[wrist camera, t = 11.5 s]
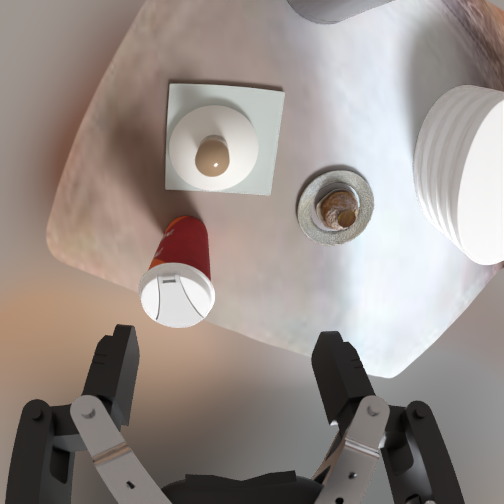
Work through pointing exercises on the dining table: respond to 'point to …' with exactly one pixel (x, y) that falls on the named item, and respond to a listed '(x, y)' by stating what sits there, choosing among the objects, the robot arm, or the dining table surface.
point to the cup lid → (213, 147)
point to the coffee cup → (179, 276)
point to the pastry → (336, 208)
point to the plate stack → (464, 170)
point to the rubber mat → (248, 104)
